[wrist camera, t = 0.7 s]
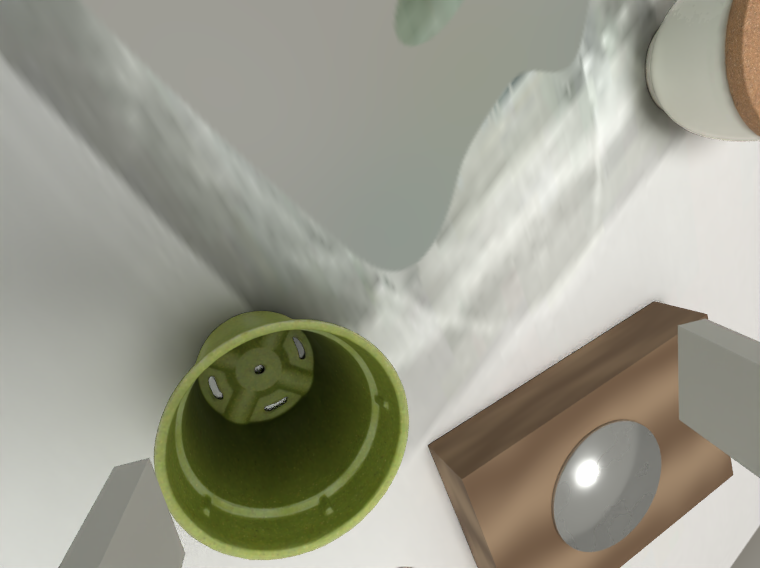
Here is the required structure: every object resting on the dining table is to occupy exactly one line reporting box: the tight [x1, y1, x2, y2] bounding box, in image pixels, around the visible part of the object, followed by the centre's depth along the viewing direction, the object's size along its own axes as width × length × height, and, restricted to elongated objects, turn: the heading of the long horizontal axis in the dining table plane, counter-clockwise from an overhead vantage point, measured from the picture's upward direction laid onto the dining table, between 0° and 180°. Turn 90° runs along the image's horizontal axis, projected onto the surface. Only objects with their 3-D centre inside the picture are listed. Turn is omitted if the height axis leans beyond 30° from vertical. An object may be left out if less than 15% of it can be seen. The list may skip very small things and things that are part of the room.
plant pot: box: [154, 311, 409, 560], centre depth 23 cm, size 9×9×9 cm
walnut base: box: [428, 301, 733, 568], centre depth 35 cm, size 14×20×4 cm
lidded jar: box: [645, 0, 760, 142], centre depth 30 cm, size 11×11×9 cm
